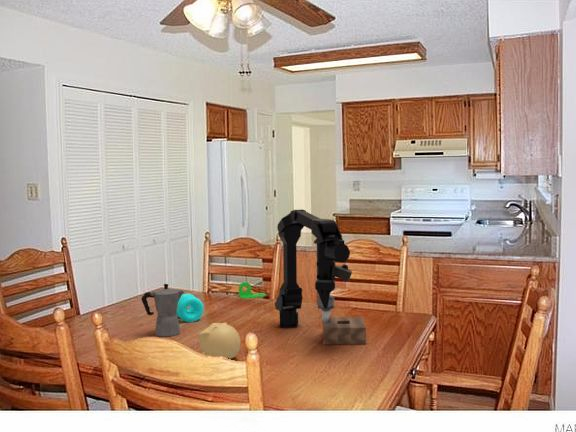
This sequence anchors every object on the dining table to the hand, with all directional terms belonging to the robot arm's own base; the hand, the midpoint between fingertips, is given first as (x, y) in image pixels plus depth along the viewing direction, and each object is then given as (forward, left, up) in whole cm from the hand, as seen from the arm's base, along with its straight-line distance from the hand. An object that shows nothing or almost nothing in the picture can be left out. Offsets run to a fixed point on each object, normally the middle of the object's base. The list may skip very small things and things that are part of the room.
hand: (325, 305), depth 180 cm
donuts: (-54, +33, -13) cm, 65 cm away
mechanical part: (-34, +72, -13) cm, 81 cm away
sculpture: (-32, -14, -13) cm, 38 cm away
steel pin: (0, 0, -6) cm, 6 cm away
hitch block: (+6, +7, -13) cm, 15 cm away
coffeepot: (-58, +13, -13) cm, 61 cm away
